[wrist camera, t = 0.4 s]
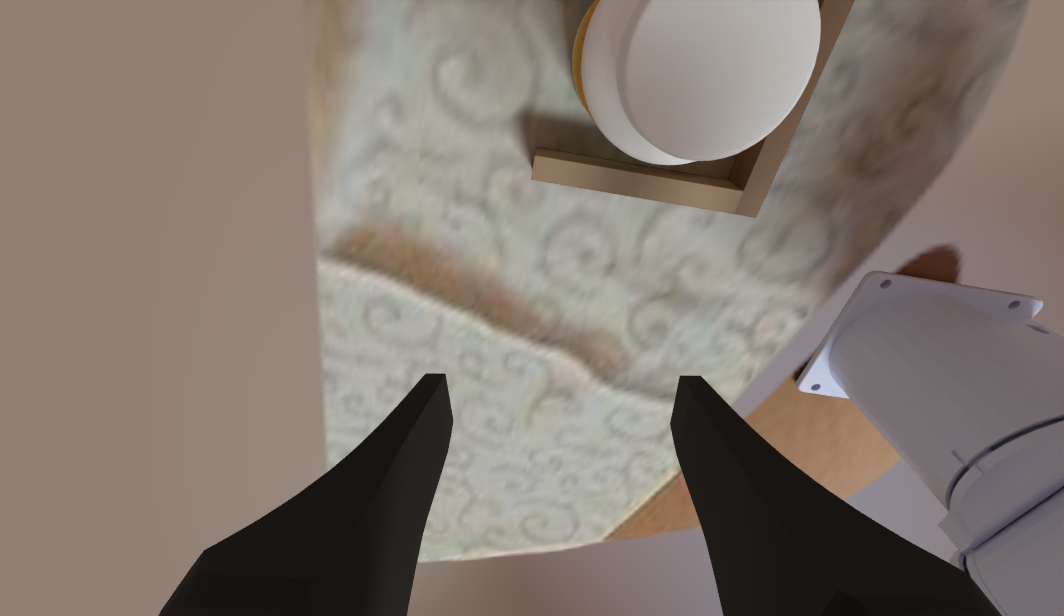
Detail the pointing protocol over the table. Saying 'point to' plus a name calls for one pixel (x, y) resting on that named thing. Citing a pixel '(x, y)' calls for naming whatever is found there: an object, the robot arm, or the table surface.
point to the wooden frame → (694, 190)
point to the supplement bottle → (693, 72)
